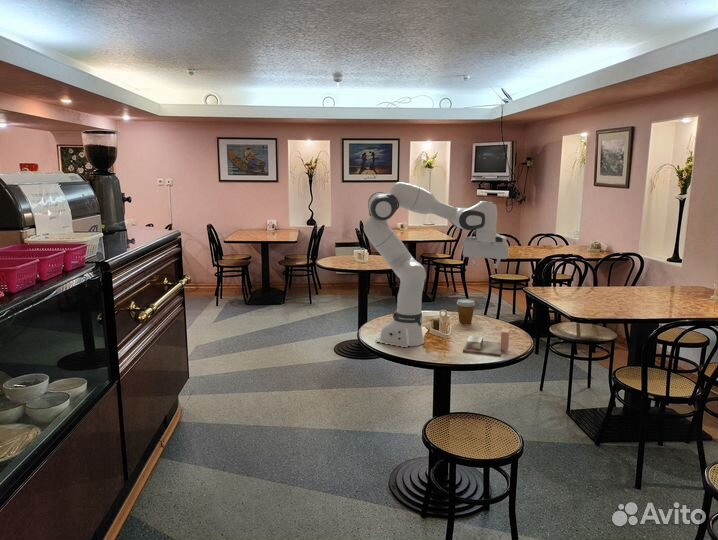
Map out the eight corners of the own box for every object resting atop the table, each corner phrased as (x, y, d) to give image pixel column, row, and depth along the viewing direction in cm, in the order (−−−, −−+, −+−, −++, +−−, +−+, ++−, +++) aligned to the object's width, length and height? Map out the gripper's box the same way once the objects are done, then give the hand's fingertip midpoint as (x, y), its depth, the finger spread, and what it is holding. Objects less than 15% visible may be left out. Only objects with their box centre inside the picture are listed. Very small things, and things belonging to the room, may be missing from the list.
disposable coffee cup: (478, 324, 267) (479, 302, 264) (462, 326, 263) (463, 303, 261) (467, 319, 275) (468, 298, 273) (452, 321, 272) (453, 299, 270)
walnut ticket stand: (462, 352, 225) (463, 343, 224) (468, 341, 240) (468, 333, 239) (500, 356, 219) (500, 347, 219) (503, 345, 234) (503, 336, 233)
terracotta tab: (500, 349, 224) (501, 331, 223) (501, 345, 229) (502, 328, 227) (507, 350, 223) (508, 332, 222) (508, 346, 228) (509, 329, 226)
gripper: (461, 237, 231) (460, 267, 234) (508, 239, 224) (507, 270, 227) (464, 235, 237) (463, 265, 239) (509, 237, 230) (508, 267, 232)
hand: (484, 267), depth 233 cm, fingers open, 8 cm apart
